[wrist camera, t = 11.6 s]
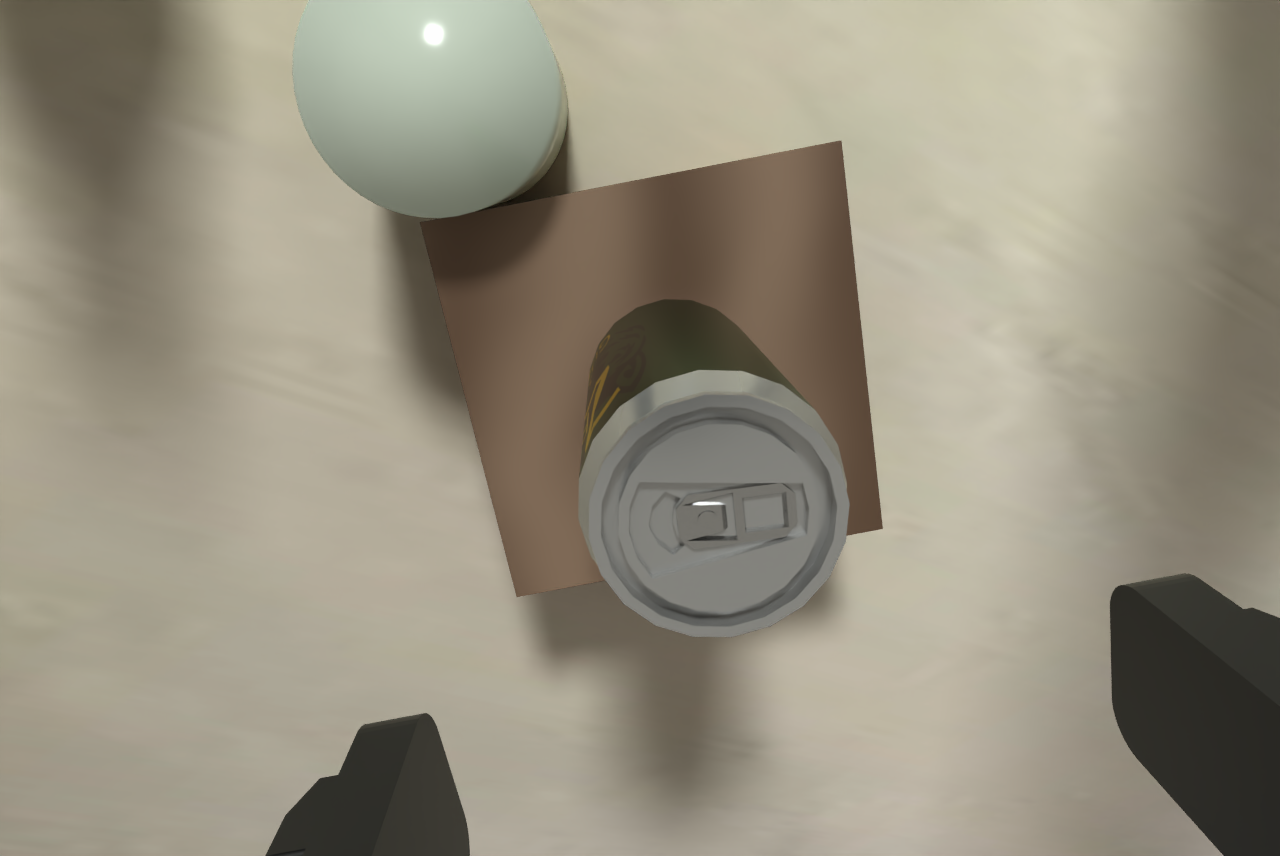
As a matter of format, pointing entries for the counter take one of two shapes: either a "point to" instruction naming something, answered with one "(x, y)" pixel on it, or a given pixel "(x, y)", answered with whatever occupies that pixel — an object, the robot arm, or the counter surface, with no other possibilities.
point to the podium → (635, 276)
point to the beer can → (705, 475)
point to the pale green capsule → (430, 100)
